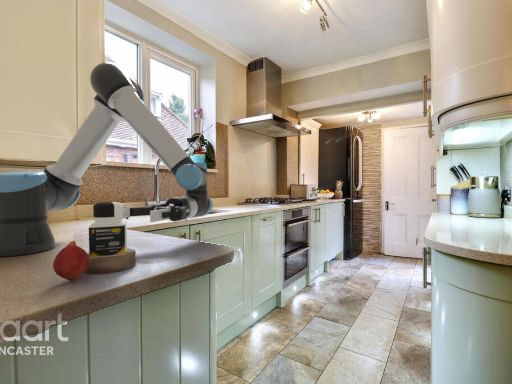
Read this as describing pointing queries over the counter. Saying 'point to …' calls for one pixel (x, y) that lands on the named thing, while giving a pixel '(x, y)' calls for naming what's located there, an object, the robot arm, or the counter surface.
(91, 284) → the counter surface
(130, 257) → the walnut stand
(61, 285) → the counter surface
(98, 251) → the medicine bottle
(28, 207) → the robot arm
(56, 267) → the onion
